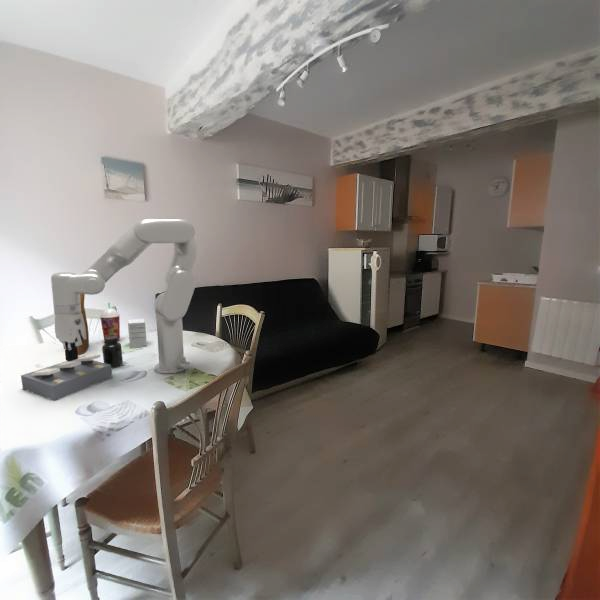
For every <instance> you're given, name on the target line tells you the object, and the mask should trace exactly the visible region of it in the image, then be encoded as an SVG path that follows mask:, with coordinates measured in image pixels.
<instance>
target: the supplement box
mask: <svg viewBox="0 0 600 600" xmlns="http://www.w3.org/2000/svg"><path fill="white" fill-rule="evenodd" d="M127 327H128V340H129V346H130V348H129V349H137V348H139V349H141V348H146V347H147V345H148V344H147V342H148V341H147V331H146V329H147V328H146V322H145V318H136V319H135V318H134V319H128V320H127Z"/></svg>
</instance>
